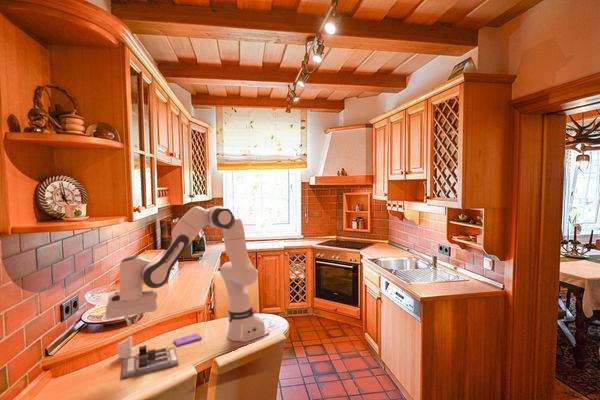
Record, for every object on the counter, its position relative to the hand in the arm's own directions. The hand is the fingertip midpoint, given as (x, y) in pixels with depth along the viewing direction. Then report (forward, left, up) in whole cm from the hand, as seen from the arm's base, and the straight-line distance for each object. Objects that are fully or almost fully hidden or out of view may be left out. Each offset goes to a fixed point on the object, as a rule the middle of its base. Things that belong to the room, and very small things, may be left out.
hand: (132, 324), depth 143 cm
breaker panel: (-7, 0, -19) cm, 20 cm away
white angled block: (+3, -13, -19) cm, 24 cm away
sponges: (-25, -16, -20) cm, 35 cm away
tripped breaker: (-7, 0, -18) cm, 19 cm away
